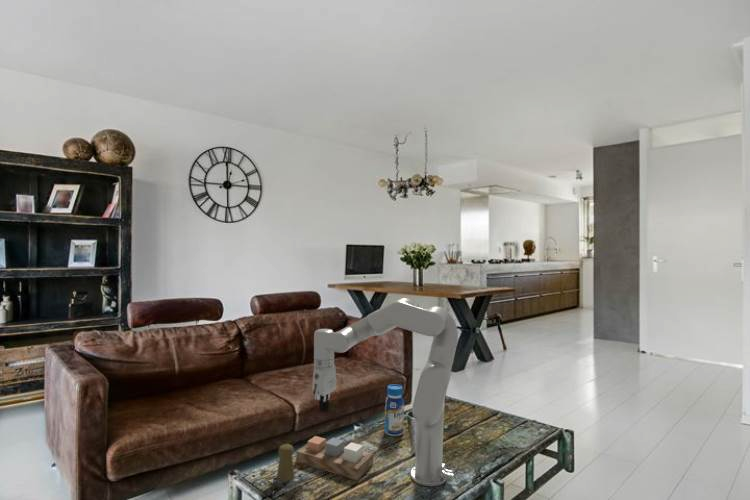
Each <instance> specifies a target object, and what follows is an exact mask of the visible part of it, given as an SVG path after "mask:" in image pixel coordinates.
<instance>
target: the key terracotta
mask: <svg viewBox="0 0 750 500" xmlns="http://www.w3.org/2000/svg"><path fill="white" fill-rule="evenodd" d="M326 441H327V439H326V437H325V438H324V437H320V436H317V435H314V436H313V437H312V438H310V439H308V440H307V443H308V450H311V451H315V452H318V453H319V452H321V451H322V450H323V449H324V448H325V443H326Z"/></svg>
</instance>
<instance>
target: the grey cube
mask: <svg viewBox="0 0 750 500" xmlns="http://www.w3.org/2000/svg"><path fill="white" fill-rule="evenodd" d="M344 446H345V440H343V439H341V438H336V437H331V438H330V439H329V440H328V442H326V443H325V455H328V456H332V457H335V458H338V457H339V456H340V455H341V454H343V453H344Z"/></svg>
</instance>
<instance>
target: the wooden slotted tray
mask: <svg viewBox="0 0 750 500" xmlns="http://www.w3.org/2000/svg"><path fill="white" fill-rule="evenodd" d="M328 441H329V440H328ZM328 441H327V440H326V442H328ZM346 446H347V445H346ZM346 446H345V445H344V448H345V447H346ZM295 455H296V461H295V462H296V463H299V464H302V465H305V466H309V467H312V468H315V469H319V470H323V471H325V472H329V473H331V474H332V473H333V474H334V475H339V476H342V477H346V478H348V479H351V480H355V481H359V479H360V478H361V477H362V476H363V475H364V474H365V473H366V472H367V471H368V470H369V469H370V468H371V467H372V466H373V465H374V453H373V452H368V451H366V450H365V451H364V450H363V458H362V459H361V460H360V461H359V462H358V463H357V464H356V463H353V462H349V461H346V460H344V453H343V454H341V455H340V456H339V457H338V458H335V457H332V456H328V455H325V448H324V449H323V450H322V451H321V452H319V453H318V452H315V451H311V450H308V442H307V443H306V444H305V445H303V446H302V447H300V448H298V449H297V450H296V453H295Z"/></svg>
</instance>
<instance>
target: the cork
mask: <svg viewBox="0 0 750 500" xmlns="http://www.w3.org/2000/svg"><path fill="white" fill-rule="evenodd" d="M277 452H278V456H279V460H278V469H277V475H276V479H277V480H278V481H279V482H281V483H282V482H283V483H287V482H291V481H292V480H294V479H295V471H294V470H295V469H294V461H293V454H294V446H293V445H292V444H289V443H284V444H281V445H280V446H279V448H278V451H277Z"/></svg>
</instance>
